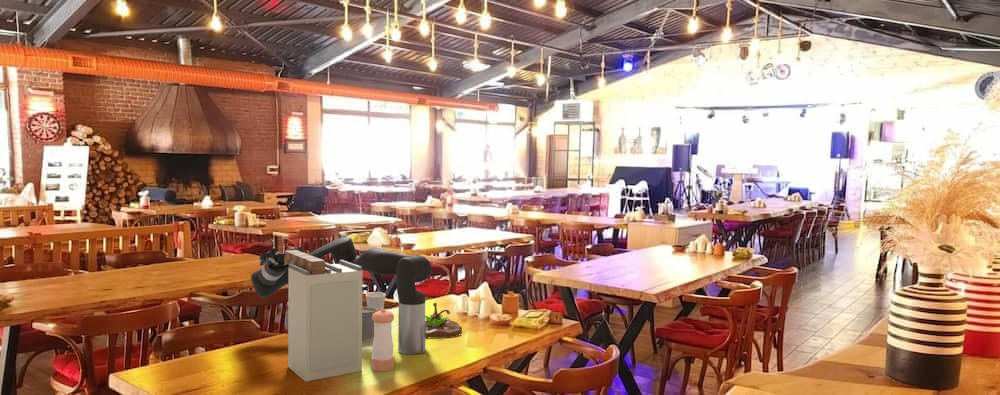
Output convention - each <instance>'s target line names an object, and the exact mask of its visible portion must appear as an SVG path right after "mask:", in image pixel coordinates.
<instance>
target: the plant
mask: <svg viewBox="0 0 1000 395" xmlns="http://www.w3.org/2000/svg"><path fill="white" fill-rule="evenodd" d="M432 305H433V307H434V308H433V309H434V312H433V313H432V314H430V316H428V315H425V322H426V339H429V338H428V337H436V338H452V337H451V336H454V337H457V336H456V335H458V336H460V335H459V334H462V332H463V328H462V325H460V324H459V323H458V322H457V321H455V320H451V319H449V318H450V317H449V316H445V317H444V316H443V313H444V312H445V313H446V314H447V315H451V310H449V309H443V310H441V311H440V312H439V313H438V308H437V302H434V303H433V304H432ZM461 331H462V332H461Z"/></svg>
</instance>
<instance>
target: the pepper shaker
mask: <svg viewBox="0 0 1000 395" xmlns="http://www.w3.org/2000/svg"><path fill="white" fill-rule="evenodd" d="M372 320H373V322H375V323H374V338H373V340H372V341H373V342H372V346H371V349H372V351H371V352H372V356H371V359H370V362H371V363H370V369H371V370H372V371H374V372H389V371H392V370H394V369H395V356H394V342H393V335H392V327H393V326H392V324H393V323H392V322H393V321H394V320H395V315H394V313H393V312H392V311H390V310H386V309H385V308H383V309H381V311H377V312H375V313H374V314H373V316H372Z"/></svg>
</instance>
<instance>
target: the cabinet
mask: <svg viewBox="0 0 1000 395" xmlns="http://www.w3.org/2000/svg"><path fill="white" fill-rule="evenodd" d="M363 273H364V272H363V270H362V267H361V266H358V265H355V264H352V263H350V262H347V261H344V260H339V264H335V263H328V262H326V261H325V274H318V275H311V274H310V271H308V270H306V269H303V268H301V267H299V266H296V265H294V264H289V268H288V297H287V298H288V299H287V300H288V301H287V302H288V304H287V306H288V308H287V309H288V310H287V311H288V329H287V331H288V334H287V336H288V338H287V339H288V340H287V342H288V343H287V349H288V351H287V352H288V353H287V356H288V358H287V359H288V360H287V361H288V362H287V363H288V364H287V366H288V368H289V370H291V371H292V372H294V374H296V375H297V376H299V377H300V378H301V379H302V380H303V381H304V383H305V382H310V381H315V380H320V379H326V378H332V377H337V376H341V375H342V376H343V375H348V374H352V373H354V374H355V373H358V372H362V371H363V370H362V369H363V368H362V366H363V362H362V361H363V359H362V358H363V356H362V354H363V339H362V307H363Z"/></svg>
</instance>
